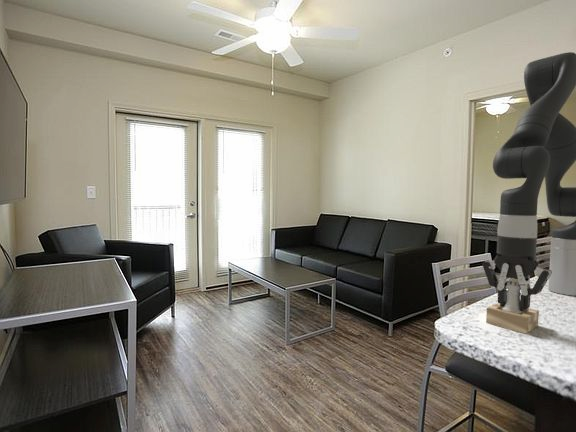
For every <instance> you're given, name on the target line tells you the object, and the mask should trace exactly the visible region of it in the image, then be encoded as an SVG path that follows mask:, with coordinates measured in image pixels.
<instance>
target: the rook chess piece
mask: <svg viewBox="0 0 576 432" xmlns="http://www.w3.org/2000/svg"><path fill="white" fill-rule="evenodd" d="M506 287H507V288H506V289H507V290H508V291H507V301H506V303H505V304H504V305H505V306H504V307H502V310H504V311H508V312H512V313H517V314H521V315H522V314H523V313H524V311H520V297H521V295H522V292H521V287H520V285H519V282H518V281H514V282H513V281H512V280H509V281H508V284H507V285H506Z"/></svg>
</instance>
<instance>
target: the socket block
mask: <svg viewBox="0 0 576 432" xmlns="http://www.w3.org/2000/svg"><path fill="white" fill-rule="evenodd" d="M539 315H540V310H537V309H533V308H529V309H527V310H526V311H524V313H523V314H522V315H521V314H517V313H512V312H508V311H504V310H502V306H500V303H498V302H496V303H494V304H493V305H490V306H488V307H486V315H485V316H486V317H485V319H486V321H485V322H486V323H487V324H490V325H493V326H498V327H501V328H503V329H504V328H505V329H508V330H511V331H515V332H518V333H522V334H527V333H529V332H531V331H532V330H534V329H535V328H537V327H538V326H539V319H540V318H539Z"/></svg>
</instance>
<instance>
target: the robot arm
mask: <svg viewBox="0 0 576 432" xmlns="http://www.w3.org/2000/svg"><path fill="white" fill-rule="evenodd" d="M523 82H524V87H525V92H526V95H527V98H528V101H529V107H527V109H526V110H524V112H523V113H522V115H521V116H520V117H519V120H518V122H517V124H516V127H515V129H514V132H513V134H511V136H509V138H508V139H507V140H506V141H505V142H504V143H503V145H501V147H500V148H499V149H498V150H497V152H496V154H495V156H494V158H493V161H492V169H493V172H494V174H495V175H496V176H497V177H498V178H500V179H506V180H509V179H525V181H524V183H523V184H522V185H520V186H519V187H514V188H509V189H505V190H503V191H502V192H501V193H500V203H499V204H500V207H499V219H498V222H497V224H498V225H497V229H496V230H497V231H496V232H497V233H496V234H497V238H496V239H497V240H496V256H495V258H494V259H493V260H486V261H483V262H482V263H481V264H482V268H483V270H484V273H485V275H486V276H485V277H486V279H487V282H488V284H489V286H490V287H494V288H495V289H497V303H500V306H502V307H504V306H505V305H504V304H505V303H506V301H507V294H508V293H507V291H508V288H507V287H506V285H507V284H508V281H509V282H510V281H511V279H515V280H517V283H518V282H519V285H520V287H521V290H520V293H521V295H520V311H526V310H527V309H530V307H531V296H532V295H538V294H541V293H542V291H543V289H544V288H545V286H546V284H547V283H548V287H547V288H548V289H547V290H548V291H550V292H552V293H557V294H561V295H565V296H566V295H567V296H575V297H576V219H575V220H574V222H571V223H569V224H566V225H562V226H560V227H559V226H557V227H554V228H553V229H551V235H550V236H551V237H550V254H549V268H548V269H545V268H544V267H542V266H539V264H538V261H537V243H538V218H537V217H538V202H539V201H538V199H539V195H540V190H541V188H542V185H543V182H545V183H544V184H545V195H546V204H547V209H548V212H549V214H551V216H555V217H565V218H566V217H567V218H568V217H569V218H570V217H572V218H573V217H574V218H576V186H574V187H572V186H571V187H566V186H565V187H562V186H561V182H562V180H563V178H564V176H565V175H566V173H568V171H569V170H570V168H571V167H572V166H573V165H574V163H575V162H576V125H574V123H572V122H571V121H570V120H569V119H568V118H566V117H565V116H564V115H563V114H561V113H560V112H561V110H562V109H563V107H564V105H565V104H566V102H567V101H568V99H569V98H570V96H571V95H572V93H573V91H574V89H575V88H576V52H571V51H569V52H564V53H560V54H559V53H558V54H556V55H552V56H548V57H544V58H539V59H536V60H533V61H530V62H528V63H527V64H526V66H525V68H524V72H523ZM496 267H497V269H498V270H499V272H500V275H499V278H498V277H497V274H496V271H495V269H496ZM535 271H536V277H537V280H536V282H535V283H534V285H533V287H532V286H531V277H530V276H531V275H532V274H533V273H534V272H535ZM531 287H532V288H531Z"/></svg>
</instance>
